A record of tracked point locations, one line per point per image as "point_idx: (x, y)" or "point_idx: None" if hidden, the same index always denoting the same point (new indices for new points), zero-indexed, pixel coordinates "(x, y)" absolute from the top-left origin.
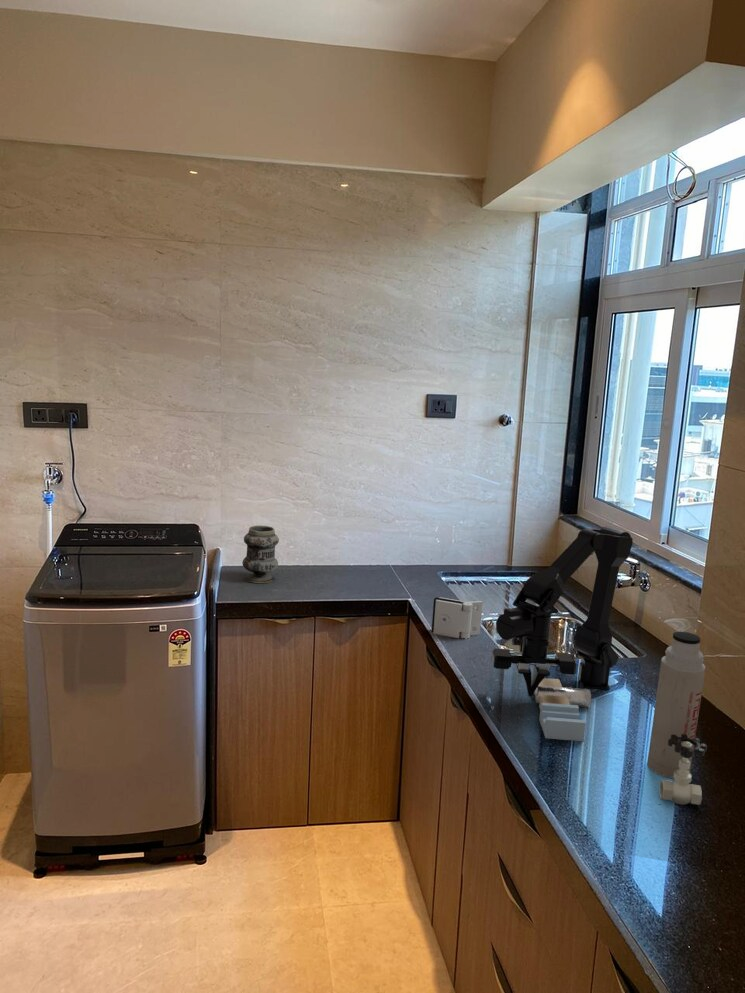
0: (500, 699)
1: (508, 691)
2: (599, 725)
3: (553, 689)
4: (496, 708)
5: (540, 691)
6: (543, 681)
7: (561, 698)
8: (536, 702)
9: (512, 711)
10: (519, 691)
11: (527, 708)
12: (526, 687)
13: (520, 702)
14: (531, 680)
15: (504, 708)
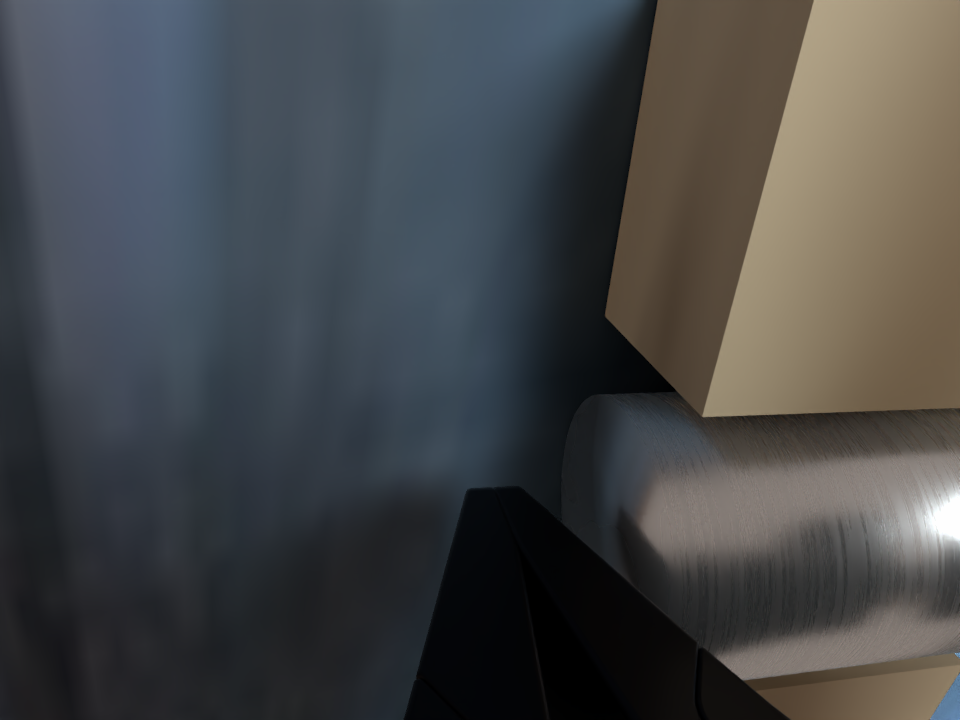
0: (31, 477)
1: (149, 156)
2: (948, 701)
3: (895, 658)
4: (15, 695)
5: None
6: (946, 183)
7: (868, 716)
8: (562, 477)
9: (227, 703)
10: (373, 126)
11: (415, 611)
12: (447, 568)
13: (345, 499)
14: (589, 670)
15: (123, 672)
